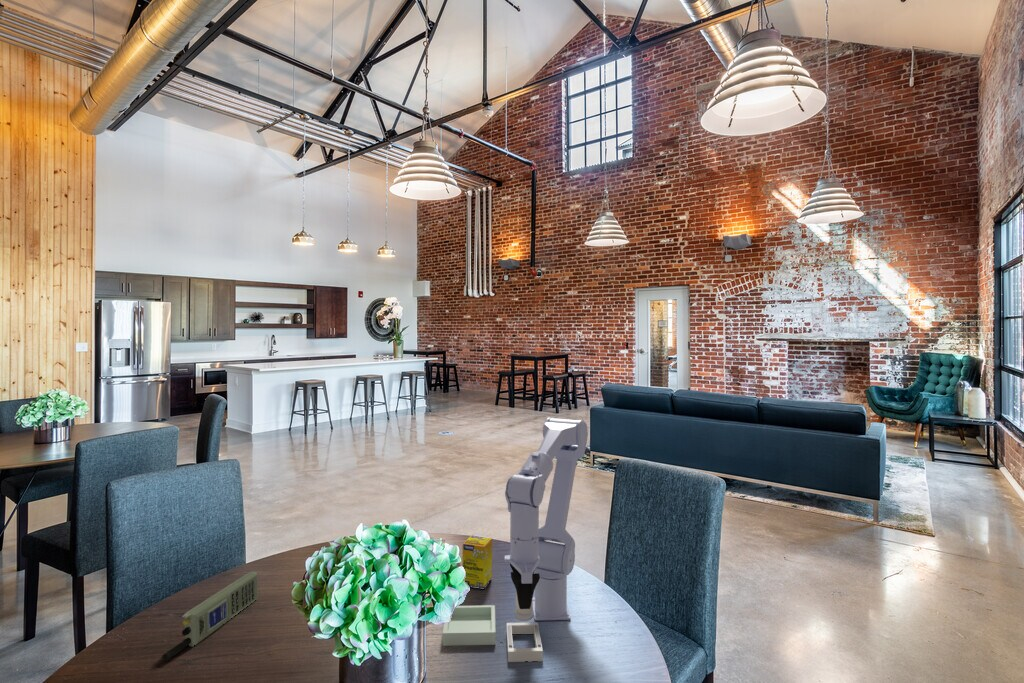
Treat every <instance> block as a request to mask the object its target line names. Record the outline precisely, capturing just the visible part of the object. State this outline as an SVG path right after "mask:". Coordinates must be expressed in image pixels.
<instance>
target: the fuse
mask: <svg viewBox="0 0 1024 683" xmlns="http://www.w3.org/2000/svg"><path fill="white" fill-rule="evenodd" d="M514 618H515V619H516V620H519V621H522V622H528V621H531V620H532V619H534V613H533V598H532V603H531V607H530V609H520V608H519V604H518V598H517V592H516V591H515V609H514Z"/></svg>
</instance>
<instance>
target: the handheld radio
mask: <svg viewBox="0 0 1024 683" xmlns="http://www.w3.org/2000/svg"><path fill="white" fill-rule="evenodd" d="M258 586H259V585H258V572H257V571H249V572H248V573H246V574H244V575H242V576H241V577H240V578H238V579H236V580H235V581H233V582H232V583H230V584H228V585H226V587H224V588H222V589H221V590H219V591H218V592H216V593H214V594H212V595H211V596H210V597H208V598H207V599H205V600H203V601H202V602H201V603H199V604H197V605H196V606H193V607H192V608H190V610H188V611H186V612H185V613H184V614H183V615H182V616H181V618H184V620H183V621H182V625H183V626H184V629H183V630H182V631H181V634H182V636H183V637H184V639H183V640H182V641H181V642H179V643H178V644H177V645H176V646H174V647H172V648H171V649H170V650H168V651H166V652H165V653H163V654H162V656H161V658H162V660H163V661H164V662H166V661H168V660H170V658H172V657H173V656H175V655H176V654H178V653H179V652H181V651H182V650H184V648H186V647H195V646H196V645H198V644H199V643H200V642H202V641H204V639H206V638H207V637H209V636H210V635H211V634H214V632H216V631H217V630H218V629H220V628H221V627H222V626H224V625H225V624H227V621H228V622H230V621H231V618H232V619H233V618H234V616H235V615H236V616H237V615H238V613H239V612H240V611H241V612H243V611H244V610H245V609H247V608H248V607H249V605H250V604H251V603H252V604H254V603H255V602H256V601H258V600H259V594H258V593H259V591H258ZM257 599H258V600H257ZM255 600H256V601H255ZM254 601H255V602H254ZM253 602H254V603H253ZM252 604H251V605H252ZM251 605H250V606H251ZM247 606H248V607H247ZM246 607H247V608H246ZM244 608H245V609H244ZM243 609H244V610H243ZM242 610H243V611H242ZM241 612H240V613H241ZM240 613H239V614H240ZM236 616H235V617H236ZM223 624H224V625H223ZM187 645H189V646H187ZM194 645H195V646H194Z"/></svg>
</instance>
